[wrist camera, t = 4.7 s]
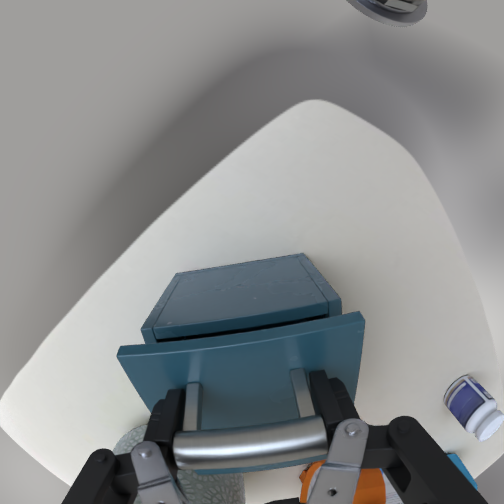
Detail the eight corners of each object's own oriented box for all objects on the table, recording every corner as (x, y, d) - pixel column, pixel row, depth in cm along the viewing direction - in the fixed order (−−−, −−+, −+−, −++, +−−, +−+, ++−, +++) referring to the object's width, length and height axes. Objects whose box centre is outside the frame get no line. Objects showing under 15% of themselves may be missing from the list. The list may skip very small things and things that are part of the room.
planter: (120, 461, 33) (95, 538, 18) (120, 387, 30) (72, 488, 15) (229, 486, 35) (228, 568, 20) (261, 421, 31) (272, 532, 16)
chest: (175, 273, 27) (139, 328, 16) (303, 252, 27) (341, 298, 16) (207, 390, 30) (198, 467, 19) (314, 374, 30) (340, 447, 19)
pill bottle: (439, 409, 33) (470, 451, 23) (446, 382, 32) (483, 424, 22) (467, 395, 33) (499, 432, 23) (475, 368, 32) (512, 405, 22)
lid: (119, 345, 13) (88, 435, 8) (359, 310, 13) (409, 397, 8) (198, 467, 19) (196, 523, 14) (341, 447, 19) (356, 502, 14)
